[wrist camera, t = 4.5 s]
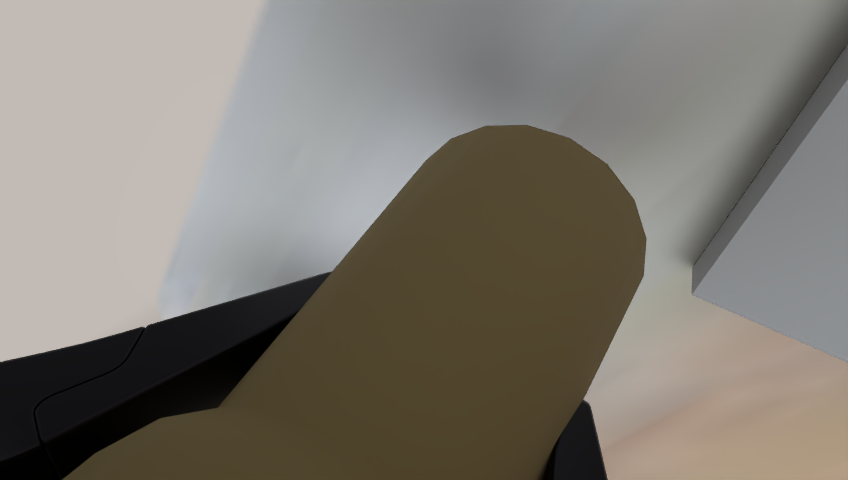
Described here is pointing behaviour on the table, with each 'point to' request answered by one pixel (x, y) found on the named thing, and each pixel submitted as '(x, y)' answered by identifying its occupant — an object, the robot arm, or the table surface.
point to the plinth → (792, 231)
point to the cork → (430, 332)
